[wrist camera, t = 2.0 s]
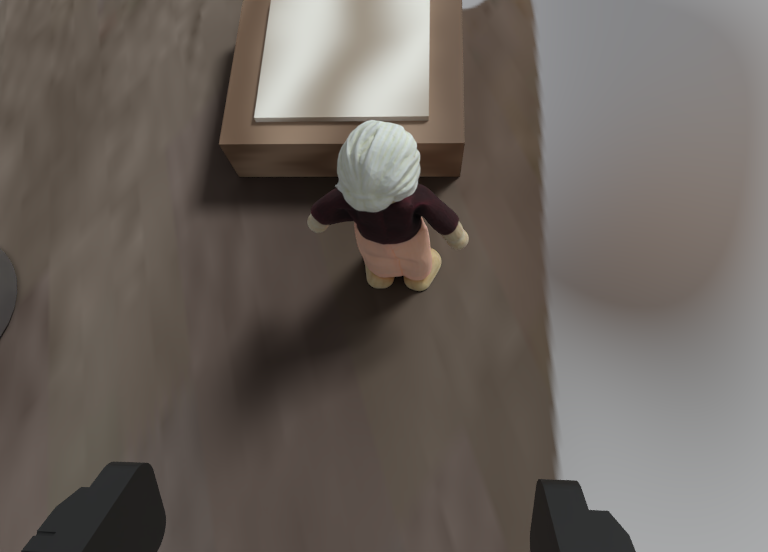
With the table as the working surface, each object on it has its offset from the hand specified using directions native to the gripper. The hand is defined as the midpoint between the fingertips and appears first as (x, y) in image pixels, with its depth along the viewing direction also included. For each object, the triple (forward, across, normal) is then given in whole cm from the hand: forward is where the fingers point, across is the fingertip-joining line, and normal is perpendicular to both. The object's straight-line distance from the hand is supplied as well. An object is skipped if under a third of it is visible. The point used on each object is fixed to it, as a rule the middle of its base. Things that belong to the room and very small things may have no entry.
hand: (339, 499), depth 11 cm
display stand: (+29, +3, -5) cm, 29 cm away
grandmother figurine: (+20, 0, +4) cm, 21 cm away
